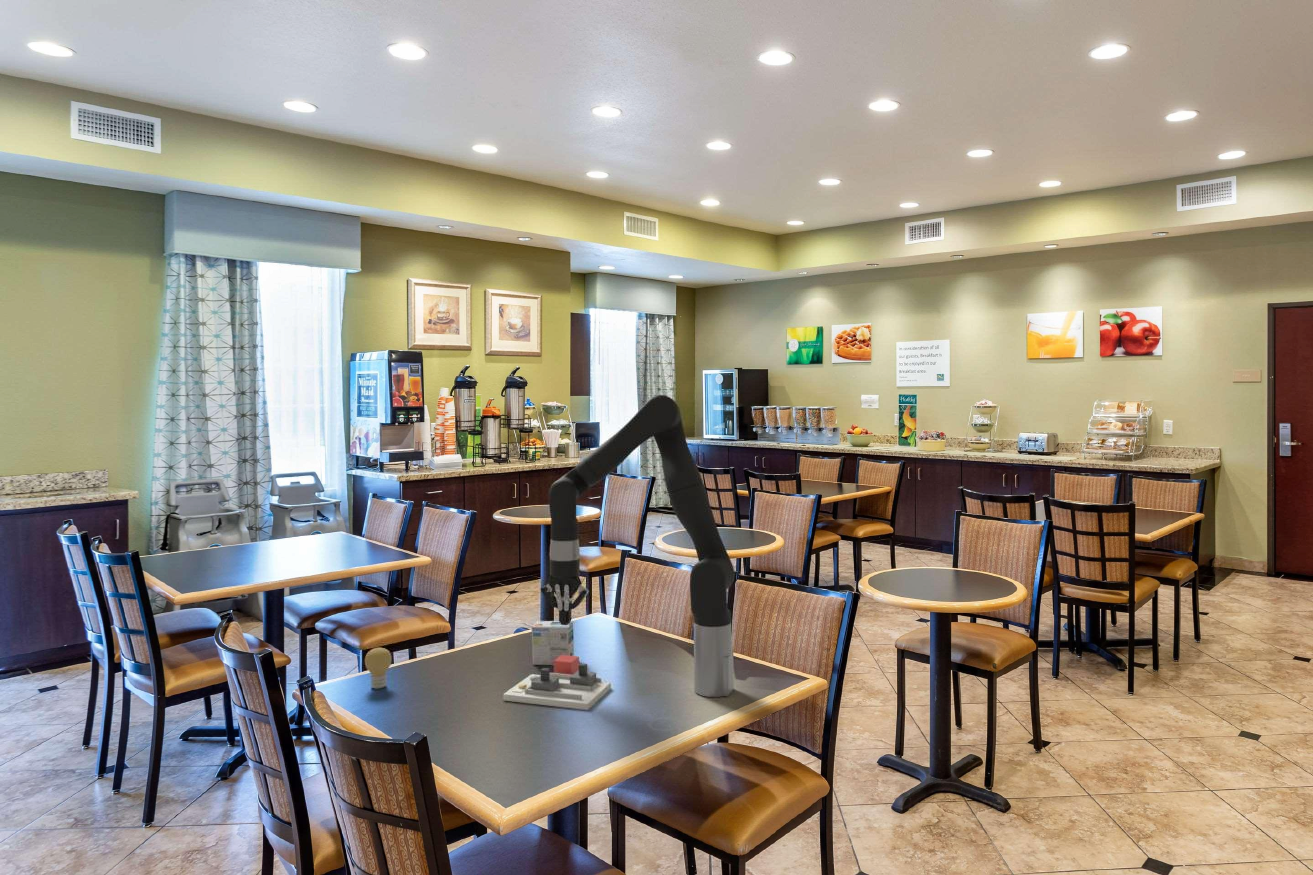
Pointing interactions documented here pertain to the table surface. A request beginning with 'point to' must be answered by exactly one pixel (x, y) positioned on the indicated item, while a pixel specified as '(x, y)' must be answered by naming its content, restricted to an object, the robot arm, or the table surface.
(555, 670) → the cap
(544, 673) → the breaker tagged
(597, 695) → the panel
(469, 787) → the table surface
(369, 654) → the light bulb
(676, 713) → the table surface
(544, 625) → the light bulb box
